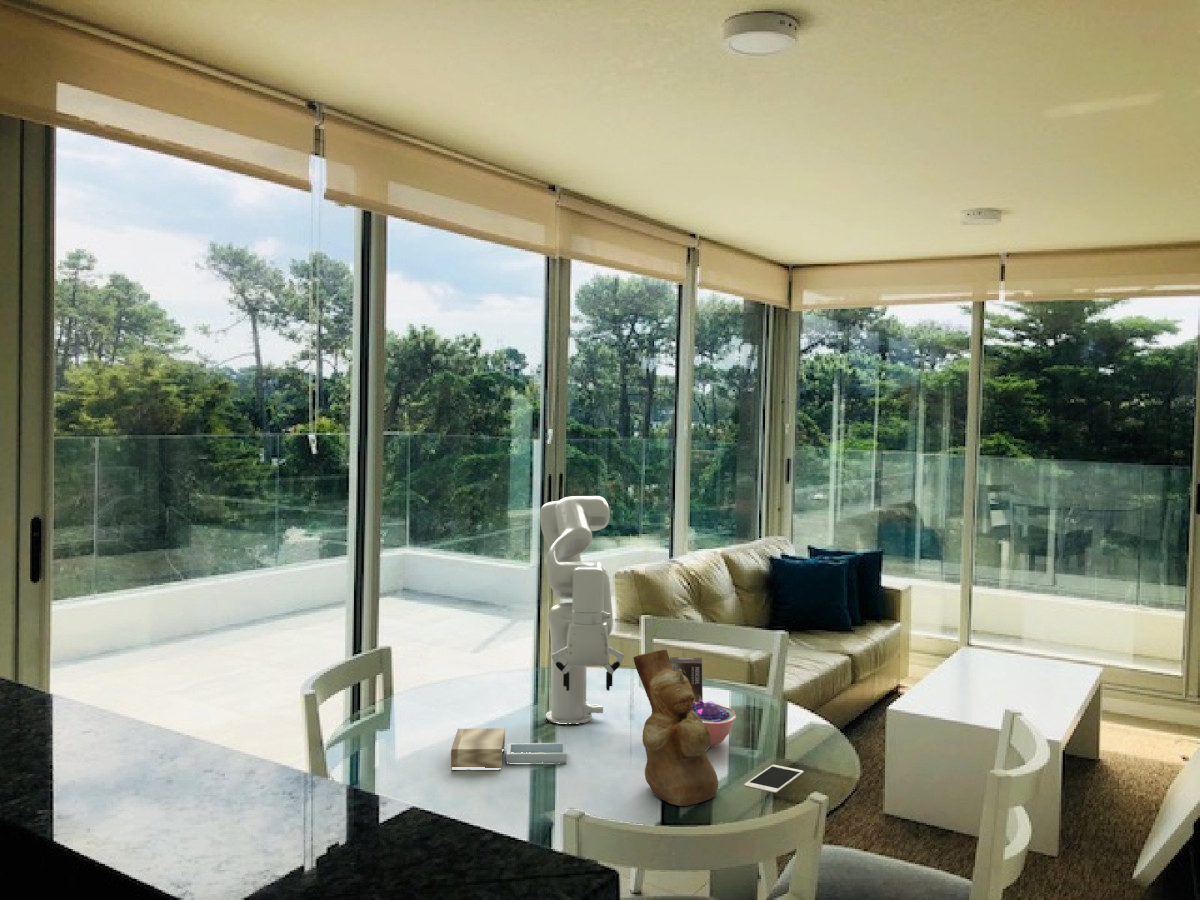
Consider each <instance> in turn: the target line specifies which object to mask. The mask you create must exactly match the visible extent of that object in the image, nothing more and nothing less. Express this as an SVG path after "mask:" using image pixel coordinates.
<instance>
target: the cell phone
mask: <svg viewBox="0 0 1200 900" xmlns="http://www.w3.org/2000/svg"><path fill="white" fill-rule="evenodd" d="M804 772H805V771H804V770H801V769H798V768H792V767H788V766H787V767H786V766H783V765H778V764H777V765H776V764H771V765H770V766H769V767H767V768H766V769H764V770H763V771H761V772H759V773H758V774H756V775H755V776H754V777H752V778H751V779H749V780H747V781H746V782H745V783H744V784H743V786H744V787H747V788H752V789H757V790H762V791H766V792H770V793H773V794H774V793H775V794H777V793H778V792H779V791H781V790H782V789H783V788H785V787H786V786H788V785H789V784H790V783H792V782H793V781H794V780H795V779H797V778H798V777H799V776H801V775H802V774H804Z"/></svg>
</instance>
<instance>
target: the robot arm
mask: <svg viewBox="0 0 1200 900" xmlns="http://www.w3.org/2000/svg"><path fill="white" fill-rule="evenodd" d="M610 516H611V513H610V506H609V504H608V501H607V500H606V498H604V497H603V496H600V495H591V496H590V495H587V496H586V495H581V496H578V495H577V496H575V495H573V496H566V497H563V498H561V499H559V500H555V501H549V502H546V503H545V504H543V505H542V506H541V508H540V512H539V523H540V528H541V532H542V536H543V538H544V541H545V543H546V545H547V548H548V552H547V556H546V573H547V579H548V584H549V587H550V589H551V590H552V593H553V596H555V598H557V599H560V600H572V602H561V603H557V604H555V605H553V606H552V607H551V608H550V609H549V611H548V614H547V616H548V617H547V619H548V627H549V635H550V648H551V651H550V652H551V657H550V658H551V669H550V670H551V671H550V673H551V676H550V677H551V684H550V686H551V693H550V695H551V697H550V700H551V701H550V704H551V705H550V709H551V710H550V711H547V712H546V714H545V719H546V718H547V719H548V720H551V721H555V722H559V723H567V724H569V723H571V724H576V723H584V724H587V723H589V722H591V720H592V719H593V714H604V706H603V705H599V704H590V703H588V699H587V667H604V669H605V670H606V671H605V672H606V673H605V677H606V678H605V682H606V684H605V688H606V691H610V689H611V687H613V674H614V673H615V671H617V669H618V668H619V667H620V666H621V664H622V662H623V660H624V657H625V654H624V652H623V653H622V652H621V651H618V650H616V649H614V648H613V647H612V646H610V640H609V636H610V634H611V633H612V631H613V627H614V619H613V617H614V615H613V605H612V594H611V584H610V577H609V574H608V573H609V572H608V571H607V569H606V567H604V565H603V564H602V563H601V562H599V561H596V560H595V561H593V560H592V561H591V560H589V561H586V560H585V561H581V560H582V559H581V553H583V552H585V551H586V550H587V549H589V547H590V546H591V545H592V543H593V532H594V531H595V532H596V531H600V530H602V529H605V528H606V527H607V526H608V524H609V522H610V518H611V517H610ZM610 655H612V656H613V657H616V660H615V661H614V662H613V663H612V664H611V663H610Z"/></svg>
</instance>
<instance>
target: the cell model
mask: <svg viewBox="0 0 1200 900" xmlns="http://www.w3.org/2000/svg"><path fill="white" fill-rule="evenodd" d="M691 710H692V711H694V712H695V713H697V715H698V716H699V717H700V719H701V720H702V722H703V724H704V725H705V726H706V727H707V729H708V731H709V734H710V746H709V748H711V747H715V746H718V745H719V744H722V743H723V741H725V739H726V738H727V737H728V736H729V734H730V733H731V730H732V728H733V726H734V722H735V720H736V718H737V715H736V713H735V712H736V711H735V710H733V709H731V708H729V707H726V706H723V705H720V704H717V703H715V702H714V701H712V700H709V701H706V702H704V701H703V702H702V701H701V700H699V702H698V703H696V702H693V708H692V709H691Z"/></svg>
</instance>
